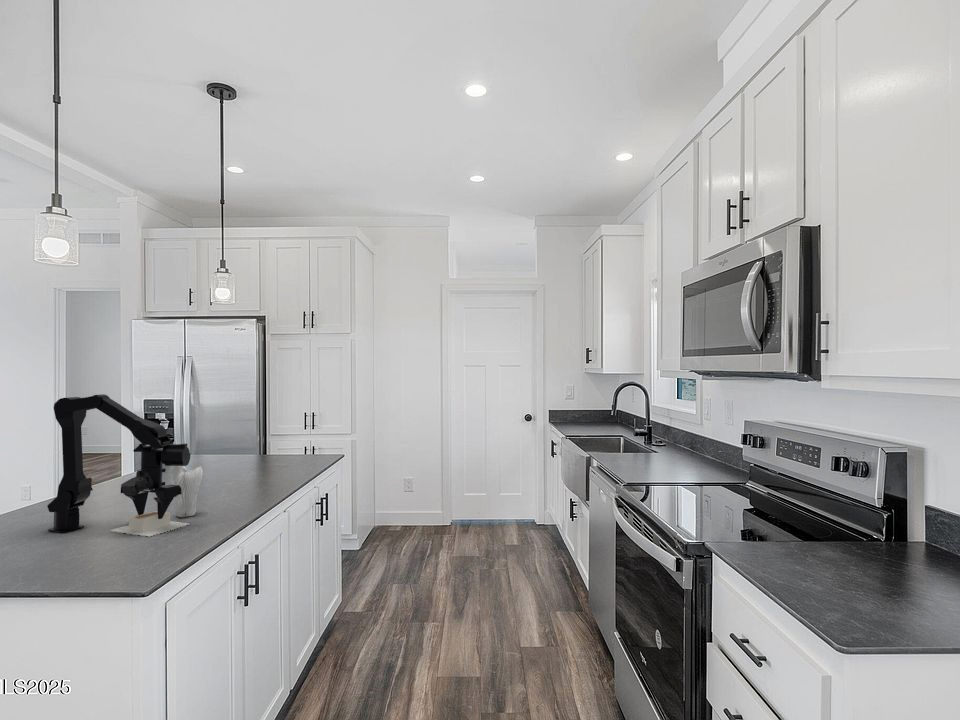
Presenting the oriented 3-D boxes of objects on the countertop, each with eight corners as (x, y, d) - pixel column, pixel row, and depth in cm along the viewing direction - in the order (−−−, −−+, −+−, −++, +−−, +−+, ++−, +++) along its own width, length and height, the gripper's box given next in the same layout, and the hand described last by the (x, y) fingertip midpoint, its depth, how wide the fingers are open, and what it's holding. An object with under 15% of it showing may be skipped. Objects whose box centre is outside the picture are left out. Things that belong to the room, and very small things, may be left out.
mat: (109, 531, 166) (109, 530, 166) (151, 520, 179) (151, 518, 179) (149, 537, 161) (149, 535, 161) (189, 524, 174) (189, 523, 174)
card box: (156, 522, 175) (156, 509, 175) (170, 524, 173) (170, 511, 173) (129, 529, 167) (129, 516, 167) (143, 531, 165) (143, 518, 165)
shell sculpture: (204, 515, 185) (205, 461, 185) (177, 520, 179) (178, 464, 179) (194, 511, 191) (195, 458, 191) (168, 515, 185) (169, 461, 185)
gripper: (104, 468, 166) (102, 521, 165) (151, 472, 160) (149, 527, 159) (138, 462, 176) (137, 512, 176) (183, 466, 170) (182, 518, 170)
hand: (150, 517), depth 170 cm, fingers open, 8 cm apart
